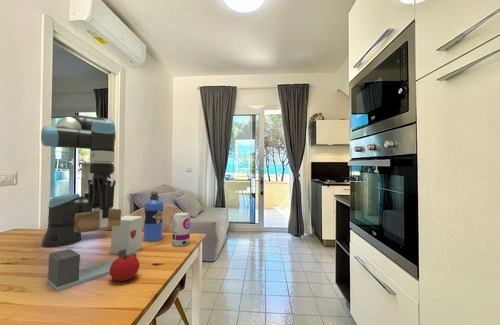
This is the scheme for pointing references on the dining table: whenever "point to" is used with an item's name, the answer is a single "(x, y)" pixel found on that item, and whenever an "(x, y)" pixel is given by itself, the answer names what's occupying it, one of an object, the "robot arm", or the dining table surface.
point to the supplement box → (127, 235)
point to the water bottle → (153, 219)
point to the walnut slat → (95, 220)
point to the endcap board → (74, 269)
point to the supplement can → (181, 229)
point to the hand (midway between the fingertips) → (99, 226)
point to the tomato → (124, 268)
